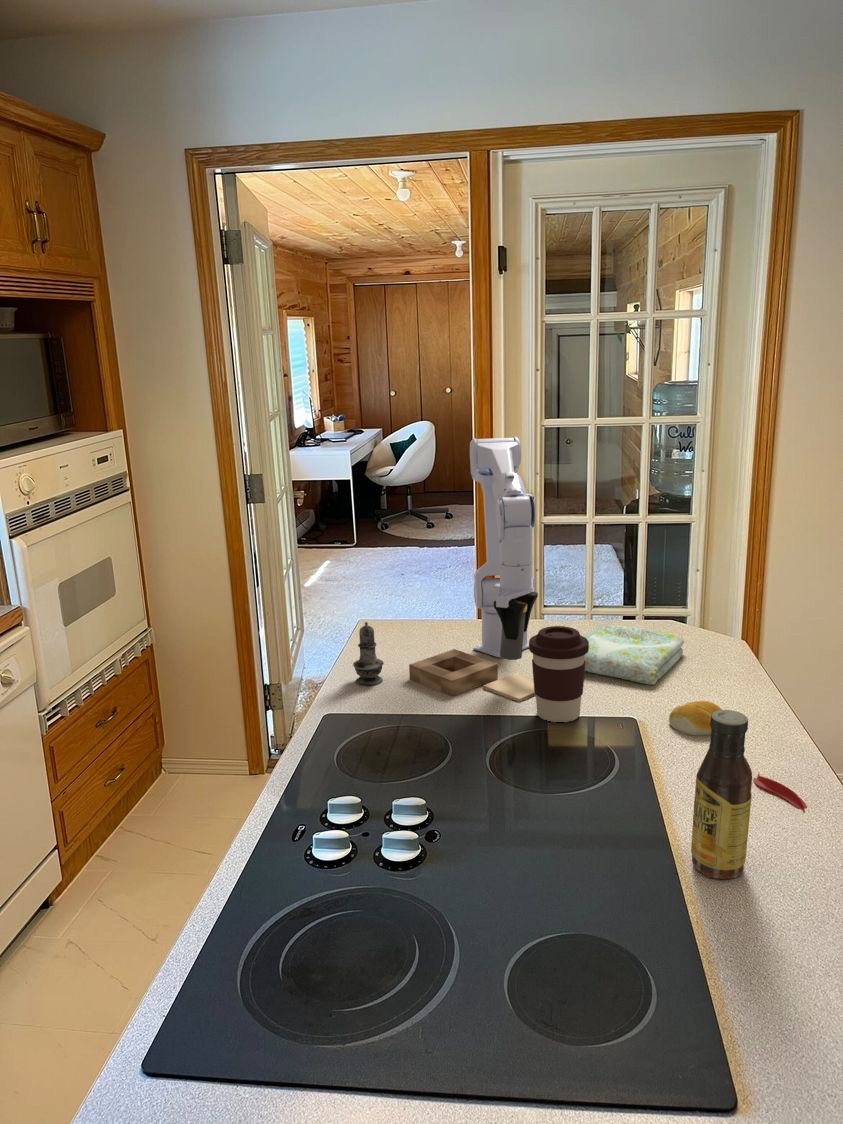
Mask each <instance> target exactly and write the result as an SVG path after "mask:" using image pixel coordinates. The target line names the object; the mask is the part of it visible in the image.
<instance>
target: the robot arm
mask: <svg viewBox="0 0 843 1124" xmlns="http://www.w3.org/2000/svg"><path fill="white" fill-rule="evenodd" d="M521 445H522V444H521V442H520V439H519V438H518V437H517V436H513V437H497V438H493V437H492V438H475V437H473V438H472V440H471V441H470V443H469V460H470V461H469V462H470V463H469V465H470V475H471V479H472V480H473V481H475V482H477V483H479V484H480V488H481V491H482V495H483V496H482V497H483V515H484V516H483V517H484V533H485V551H486V552H485V553H486V554H485V555H486V562H485V563H484V564H482V565H481V566H480V567H479V568H477V569H476V571H475V573H474V576H473V577H474V579H473V580H474V581H473V596H474V597H473V599H474V605H475V607H476V608H477V609H478V610H479V609H480V610H481V644H478V645H475V646H473V650H475V651H478V652H479V653H480V652H481V653H484V654H487V655H491V656H492V657H496V658H502V657H501V656H500V648H501V636H502V626H503V630H504V634H505V637H506V639H512V640H517V639H518V636H519V629H520V621H521V617H522V613H523V611H524V608H525V606H526V604H527V611H526V613H525V625H524V636H523V647H522V651H523V650H526V649H529V643H528V627H529V621H530V619H531V618H530V617H531V613H532V610H533V608H534V605H535V602H536V601H537V598H538V597H539V596H538V595H539V593H538V592H537V591H534V587H535V577H534V576H533V567H532V566H533V564H532V563H533V561H532V560H533V559H532V558H533V551H532V550H533V549H532V548H533V547H532V546H533V544H532V543H533V542H532V539H533V536H532V535H533V534H532V533H533V531H532V529H533V528H534V527H535V525H536V517H537V515H536V514H537V513H536V512H537V511H536V503H535V499H534V496H533V495H532V494H530V493H527V491H526V487H525V484H524V482H523V479H522V477H521V476H520V475H519V474H518V471H519V468H520V465H521V461H522V446H521ZM492 576H494V577H492ZM495 576H499V577H495ZM486 577H488V578H486ZM517 601H521V602H524V603H526V604H520V603H517Z"/></svg>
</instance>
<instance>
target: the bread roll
mask: <svg viewBox="0 0 843 1124" xmlns="http://www.w3.org/2000/svg"><path fill="white" fill-rule="evenodd" d="M718 710H723V709H722V708H721V706H719V705H718V704H716V703H714V702H711V701H708V700H699V701H692V702H687V703H686V704H683V705H678V706H676V707H674V708H673V709H672V710H671V711H670V713H669V715H668V717H669V718H668V721H669V722H668V723H669V724H670V725H671V727H672V728H674V730H677V731H679V732H681V733H683V734H686V735H690V736H711V726H710V719H711V715H712V714H713V713H714V712H715V711H718Z"/></svg>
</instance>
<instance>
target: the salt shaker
mask: <svg viewBox="0 0 843 1124" xmlns="http://www.w3.org/2000/svg"><path fill="white" fill-rule="evenodd" d="M368 624H369V623H368V622H367V621H365V623H364V625H363V626H362V627H360V629H359V634H358V635H359V643H358V645H357V647H359V658H358V660H356V661H354V662H353V663H352V666H353V668H354V670H355V672H356V674H357V675H358V676H359V677H357V678H356V679H355V684H356V685H358V686H361V687H374V686H377V685H380V684H381V683H383V681H384V679H383V677H382V676H380V674H381V672H382V669H383V666H384V663H385V662H384V661H383V660H382V659H379V658H378V657H377V654H376V647H377V642H375V629H374V628H373V626H370V625H368Z"/></svg>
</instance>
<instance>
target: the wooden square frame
mask: <svg viewBox="0 0 843 1124" xmlns="http://www.w3.org/2000/svg"><path fill="white" fill-rule="evenodd" d="M498 665H499V663H497V662H493V661H491V660H488V659H485V658H482V657H478V656H476V655H473V654H470V653H467V652H464V651H461V650H458V649H456V648H454V649H451V650H447V651H445V652H441V653H439V654H436V655H432V656H431V657H427V658H424V659H421V660H418V661H416V662H413V663H410V664H408V667H409V670H408V671H409V674H408V675H409V680H411V681H413V682H416V683H418V684H421V685H423V686H426V687H428V688H431V689H433V690H435V691H436V690H437V691H439V692H440V693H441V692H442V693H443V694H446V695H449V696H451V697H454V696H456V695H458V694H461V693H464V692H467V691H469V690H471V689H472V690H473V689H475V688H478V687H480V686H483V685H486V684H488V683H491V682H494V681H496V680H499V670H498V669H499V666H498Z"/></svg>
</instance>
